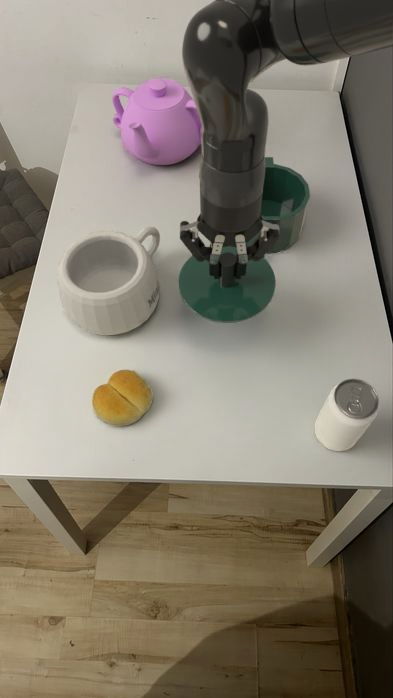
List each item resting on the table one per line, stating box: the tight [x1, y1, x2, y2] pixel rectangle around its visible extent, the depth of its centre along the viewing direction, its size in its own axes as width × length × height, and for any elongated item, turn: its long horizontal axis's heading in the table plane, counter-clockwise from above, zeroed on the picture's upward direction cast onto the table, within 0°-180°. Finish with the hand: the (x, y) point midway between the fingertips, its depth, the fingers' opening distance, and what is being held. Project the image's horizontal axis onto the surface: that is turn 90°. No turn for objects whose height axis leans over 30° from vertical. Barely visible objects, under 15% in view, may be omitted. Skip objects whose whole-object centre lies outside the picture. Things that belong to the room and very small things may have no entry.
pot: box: [247, 156, 311, 254], centre depth 91 cm, size 14×19×8 cm
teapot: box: [111, 78, 201, 166], centre depth 99 cm, size 22×22×14 cm
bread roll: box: [91, 369, 154, 427], centre depth 76 cm, size 8×9×4 cm
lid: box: [178, 245, 277, 324], centre depth 73 cm, size 15×15×6 cm
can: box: [314, 378, 380, 452], centre depth 69 cm, size 6×6×12 cm
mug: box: [56, 226, 161, 336], centre depth 83 cm, size 21×17×10 cm
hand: (227, 274), depth 74 cm, fingers closed on lid, 2 cm apart
